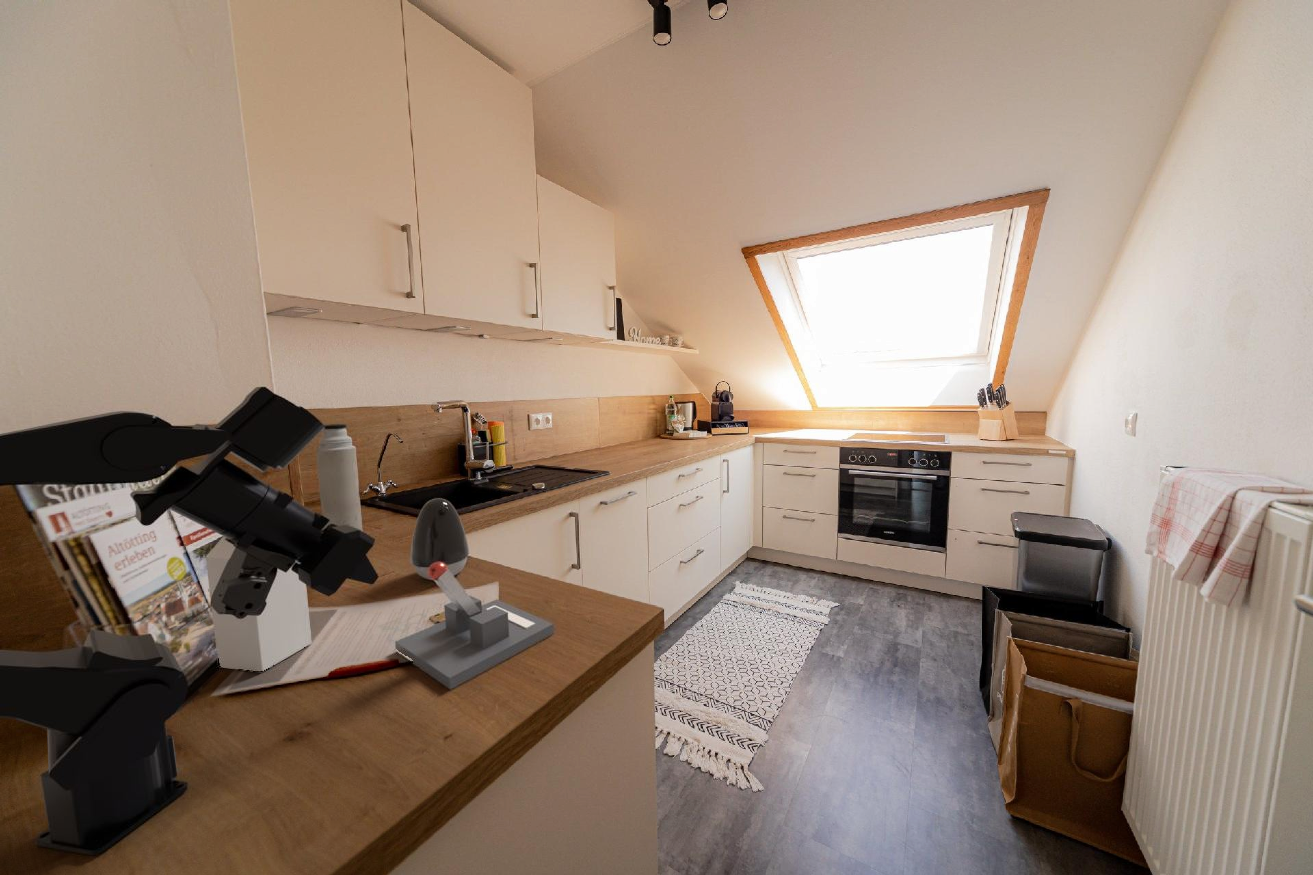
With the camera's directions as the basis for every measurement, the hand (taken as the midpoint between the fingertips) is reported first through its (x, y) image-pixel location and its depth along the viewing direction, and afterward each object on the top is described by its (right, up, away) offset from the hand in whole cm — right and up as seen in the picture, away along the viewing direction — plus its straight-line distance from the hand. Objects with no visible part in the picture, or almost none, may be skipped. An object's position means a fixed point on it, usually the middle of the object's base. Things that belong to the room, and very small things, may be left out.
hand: (374, 580), depth 56 cm
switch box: (+8, -12, +11) cm, 19 cm away
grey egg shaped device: (-8, -10, +36) cm, 39 cm away
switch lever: (+8, -9, +11) cm, 16 cm away
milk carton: (-20, -13, +9) cm, 26 cm away
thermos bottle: (-44, -8, +61) cm, 76 cm away
